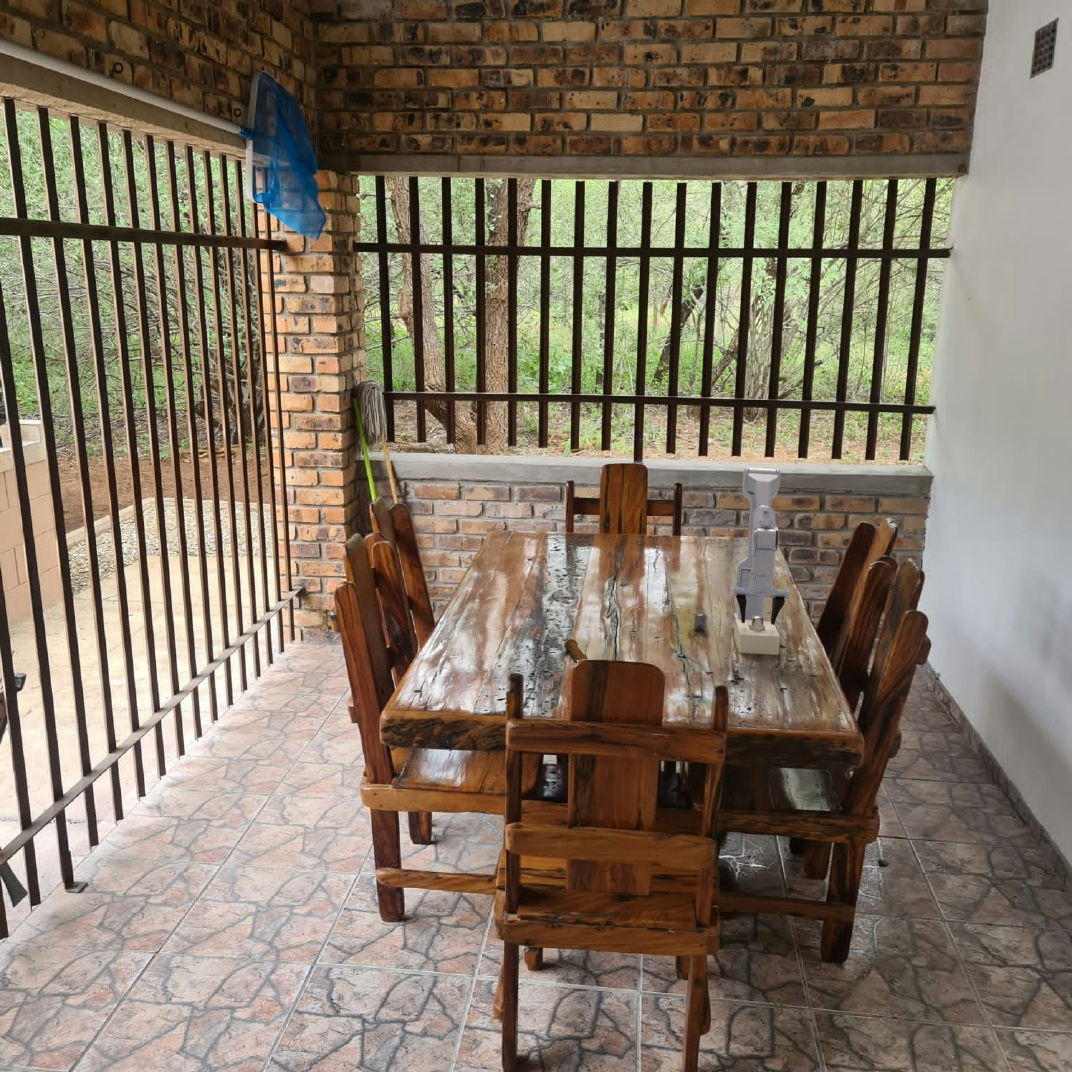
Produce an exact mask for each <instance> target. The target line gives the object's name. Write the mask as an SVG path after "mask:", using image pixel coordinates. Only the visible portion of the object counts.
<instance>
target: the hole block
mask: <svg viewBox="0 0 1072 1072" xmlns="http://www.w3.org/2000/svg"><path fill="white" fill-rule="evenodd" d="M734 619H735V618H734ZM751 624H752V620H745V623H742V622H741V620H738V619H735V621H734V632H733V638H734V642H735V645H736V646H737V650H738V652H739V654H757V655H775V656H779V653H780V652H779V651H780V641H781V636H780V633H779V632H778V630H777V628H776V625H775V624H774V625H772V624H771V620H770V621H769V620H764V621H763V631H757V630H751Z"/></svg>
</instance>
